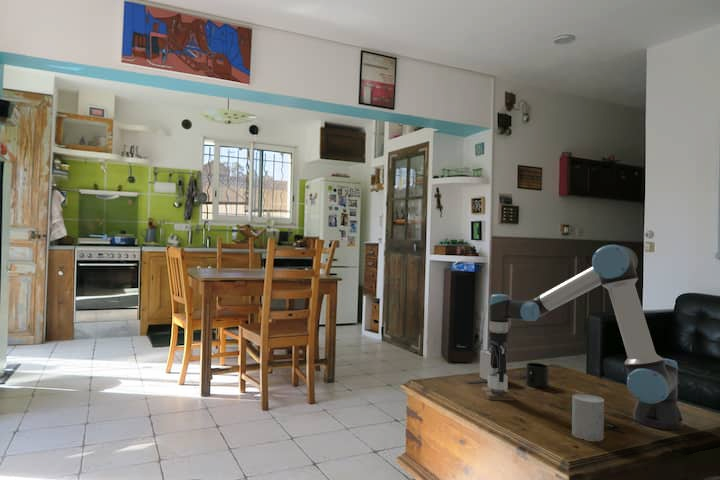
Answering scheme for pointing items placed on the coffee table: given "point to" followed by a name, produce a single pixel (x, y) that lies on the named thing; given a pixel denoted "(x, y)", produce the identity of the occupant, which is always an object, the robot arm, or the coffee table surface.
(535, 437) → the coffee table surface
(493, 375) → the ring
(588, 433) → the white cylinder
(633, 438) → the coffee table surface
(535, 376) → the mug
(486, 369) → the soap bottle
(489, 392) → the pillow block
